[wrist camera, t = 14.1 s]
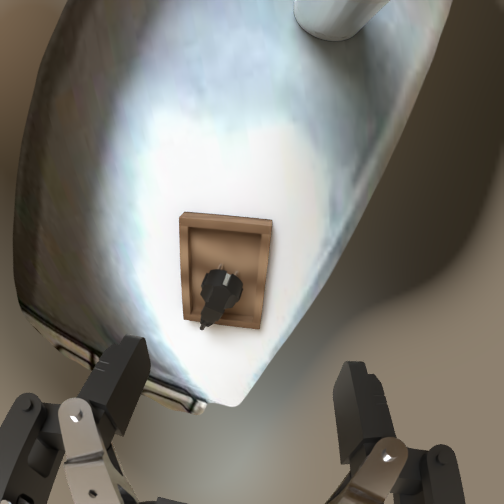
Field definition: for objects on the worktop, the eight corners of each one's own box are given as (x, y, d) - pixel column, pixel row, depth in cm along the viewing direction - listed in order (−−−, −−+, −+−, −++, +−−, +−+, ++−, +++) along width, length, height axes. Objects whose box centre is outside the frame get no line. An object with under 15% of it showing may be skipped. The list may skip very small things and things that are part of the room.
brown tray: (184, 211, 40) (179, 217, 38) (272, 219, 40) (271, 226, 37) (187, 310, 48) (183, 319, 45) (260, 319, 47) (259, 329, 45)
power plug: (183, 325, 44) (197, 293, 35) (199, 288, 49) (216, 248, 40) (216, 339, 45) (239, 310, 36) (229, 301, 50) (254, 265, 40)
